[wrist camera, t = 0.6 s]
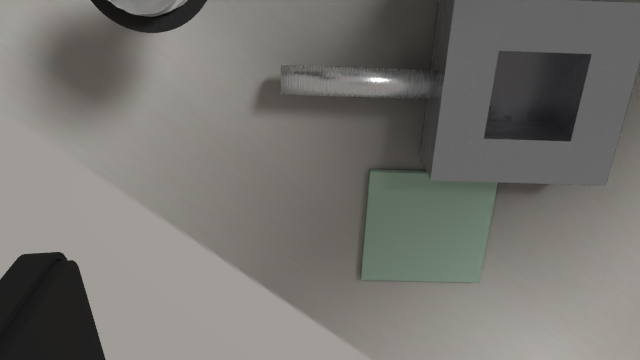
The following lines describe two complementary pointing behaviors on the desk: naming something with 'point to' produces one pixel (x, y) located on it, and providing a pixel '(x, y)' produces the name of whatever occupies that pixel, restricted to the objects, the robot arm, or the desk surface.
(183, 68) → the desk surface
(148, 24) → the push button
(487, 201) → the mat
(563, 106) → the block
